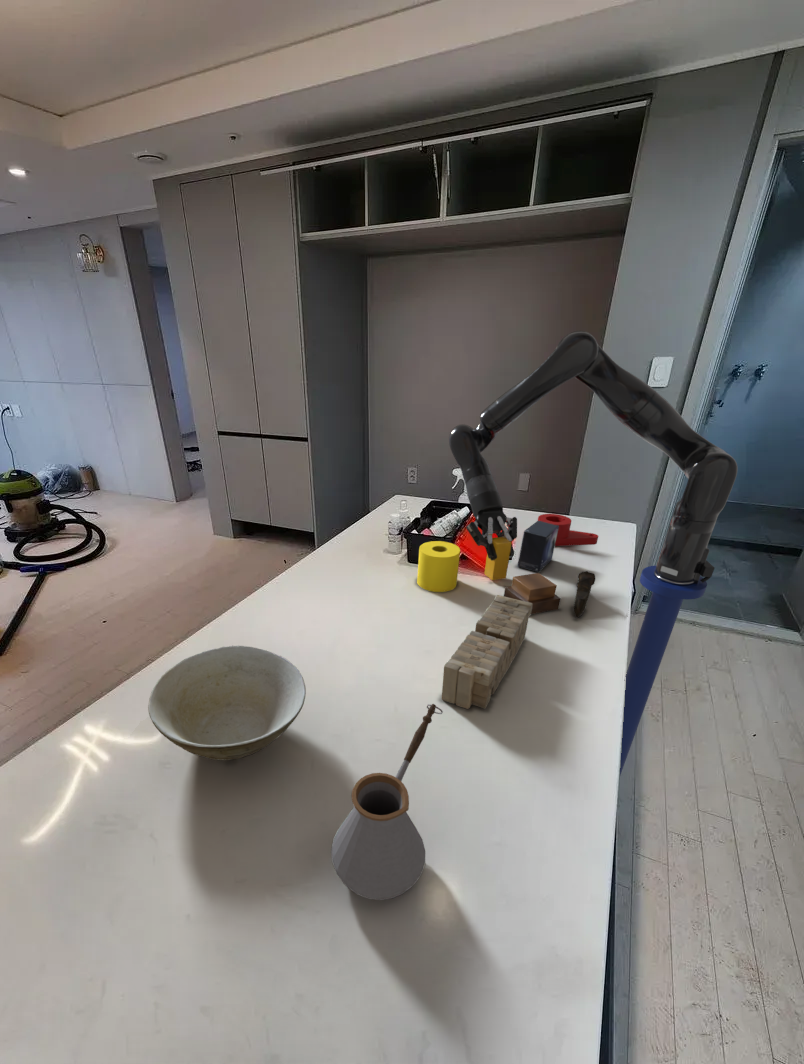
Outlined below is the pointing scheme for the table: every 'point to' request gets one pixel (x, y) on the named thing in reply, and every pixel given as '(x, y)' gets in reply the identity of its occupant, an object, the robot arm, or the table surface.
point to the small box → (537, 546)
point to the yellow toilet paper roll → (438, 566)
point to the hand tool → (583, 591)
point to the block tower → (486, 653)
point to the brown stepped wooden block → (534, 592)
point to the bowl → (227, 701)
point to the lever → (568, 531)
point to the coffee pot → (381, 833)
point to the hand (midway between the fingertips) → (502, 557)
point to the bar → (498, 559)
